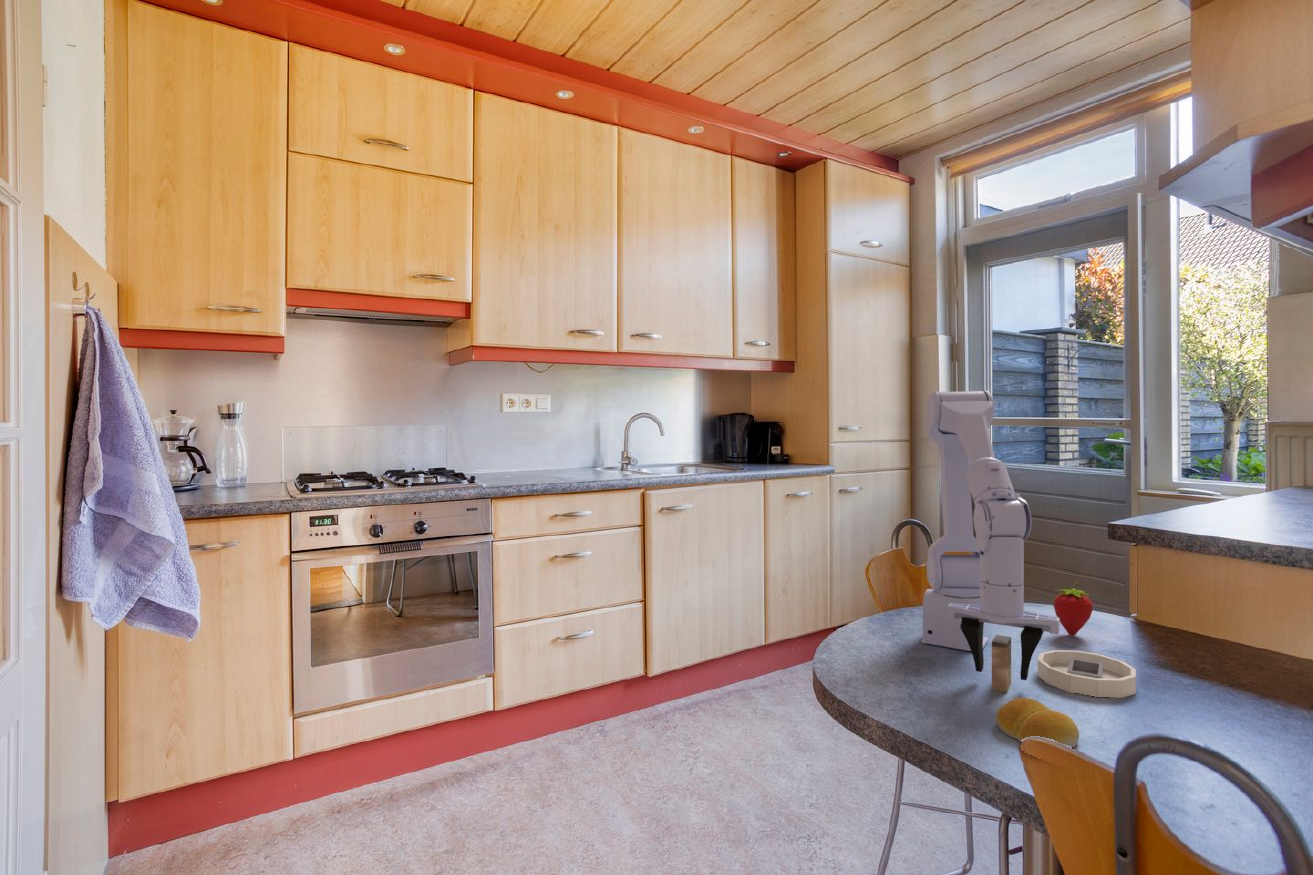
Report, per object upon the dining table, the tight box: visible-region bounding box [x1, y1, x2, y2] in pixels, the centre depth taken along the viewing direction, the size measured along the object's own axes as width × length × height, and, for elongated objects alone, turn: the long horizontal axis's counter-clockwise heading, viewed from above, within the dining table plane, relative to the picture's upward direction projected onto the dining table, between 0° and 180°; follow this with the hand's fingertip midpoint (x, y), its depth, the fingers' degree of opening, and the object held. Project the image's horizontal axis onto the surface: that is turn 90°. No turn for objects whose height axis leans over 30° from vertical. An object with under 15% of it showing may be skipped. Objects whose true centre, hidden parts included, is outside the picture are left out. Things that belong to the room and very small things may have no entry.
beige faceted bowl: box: [1037, 649, 1137, 699], centre depth 101 cm, size 12×12×2 cm
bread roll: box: [995, 697, 1080, 748], centre depth 84 cm, size 8×9×4 cm
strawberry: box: [1053, 581, 1094, 637], centre depth 121 cm, size 6×8×10 cm
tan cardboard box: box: [991, 634, 1012, 694], centre depth 99 cm, size 2×4×7 cm, turn 145°
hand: (1001, 673), depth 99 cm, fingers open, 5 cm apart
